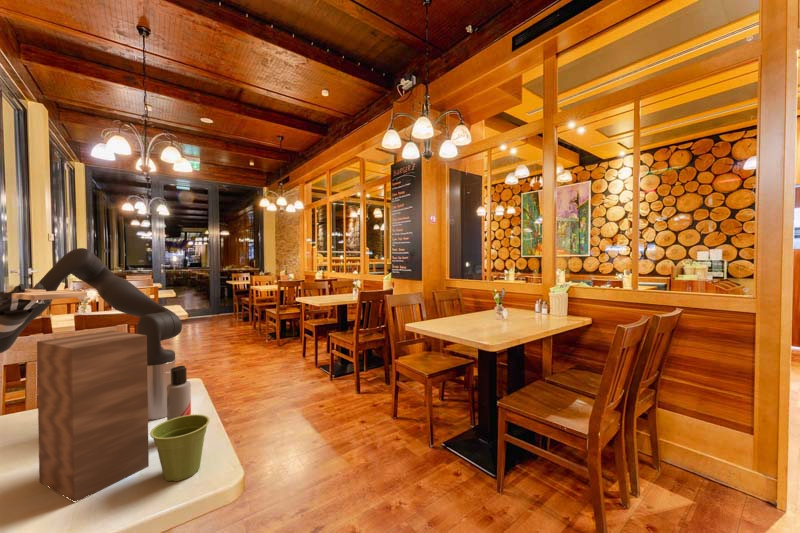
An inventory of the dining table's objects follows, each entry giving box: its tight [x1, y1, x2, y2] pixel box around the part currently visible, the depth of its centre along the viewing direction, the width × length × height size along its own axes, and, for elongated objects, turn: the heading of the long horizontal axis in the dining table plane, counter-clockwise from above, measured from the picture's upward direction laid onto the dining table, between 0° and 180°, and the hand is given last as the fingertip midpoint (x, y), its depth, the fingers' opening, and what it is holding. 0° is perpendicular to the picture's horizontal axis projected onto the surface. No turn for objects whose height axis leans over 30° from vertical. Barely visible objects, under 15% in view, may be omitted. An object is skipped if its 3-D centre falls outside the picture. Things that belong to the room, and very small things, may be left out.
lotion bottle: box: [166, 365, 192, 421], centre depth 97 cm, size 6×6×20 cm
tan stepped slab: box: [12, 288, 88, 300], centre depth 91 cm, size 23×10×2 cm, turn 65°
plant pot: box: [149, 414, 210, 482], centre depth 80 cm, size 12×12×11 cm
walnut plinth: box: [36, 329, 150, 501], centre depth 80 cm, size 16×14×32 cm
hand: (31, 286), depth 93 cm, fingers closed on tan stepped slab, 2 cm apart
